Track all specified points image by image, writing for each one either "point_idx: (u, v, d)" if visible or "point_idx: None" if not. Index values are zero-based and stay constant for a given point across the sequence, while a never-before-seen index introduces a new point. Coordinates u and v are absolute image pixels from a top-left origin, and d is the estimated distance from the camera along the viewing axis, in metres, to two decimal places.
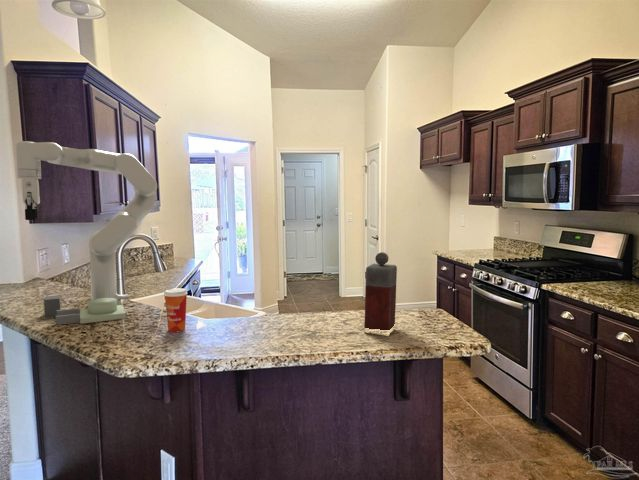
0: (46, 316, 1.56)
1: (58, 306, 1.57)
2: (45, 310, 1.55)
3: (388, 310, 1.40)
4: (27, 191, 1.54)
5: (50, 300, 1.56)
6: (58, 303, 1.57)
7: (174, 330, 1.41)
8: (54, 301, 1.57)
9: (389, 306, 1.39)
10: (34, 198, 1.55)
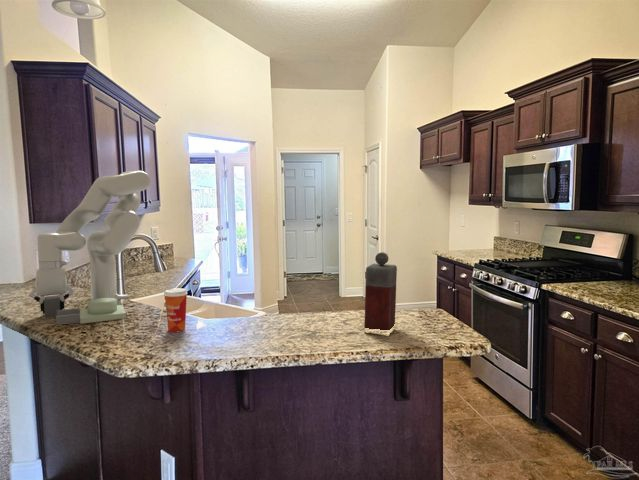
0: (46, 316, 1.56)
1: (58, 306, 1.57)
2: (45, 310, 1.55)
3: (388, 310, 1.40)
4: (66, 282, 1.60)
5: (50, 300, 1.56)
6: (58, 303, 1.57)
7: (174, 330, 1.41)
8: (54, 301, 1.57)
9: (389, 306, 1.39)
10: None
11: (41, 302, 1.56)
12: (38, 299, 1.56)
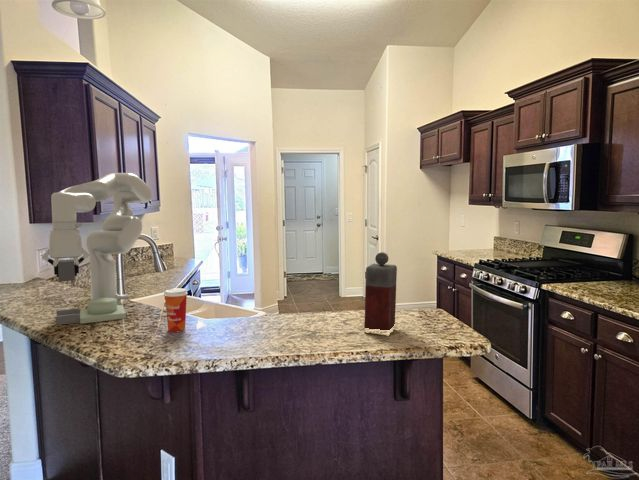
0: (60, 279, 1.48)
1: (72, 269, 1.50)
2: (59, 273, 1.48)
3: (388, 310, 1.40)
4: (81, 245, 1.53)
5: (64, 263, 1.48)
6: (72, 266, 1.50)
7: (174, 330, 1.41)
8: (68, 264, 1.49)
9: (389, 306, 1.39)
10: None
11: (55, 265, 1.49)
12: (52, 262, 1.48)
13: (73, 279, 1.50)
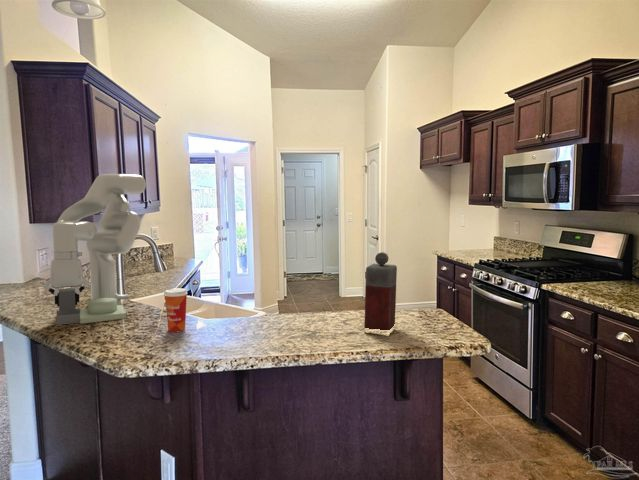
0: (61, 309, 1.49)
1: (73, 299, 1.51)
2: (60, 303, 1.49)
3: (388, 310, 1.40)
4: None
5: (65, 292, 1.49)
6: (73, 295, 1.51)
7: (174, 330, 1.41)
8: (69, 293, 1.50)
9: (389, 306, 1.39)
10: None
11: (56, 294, 1.49)
12: (52, 291, 1.49)
13: (73, 308, 1.51)
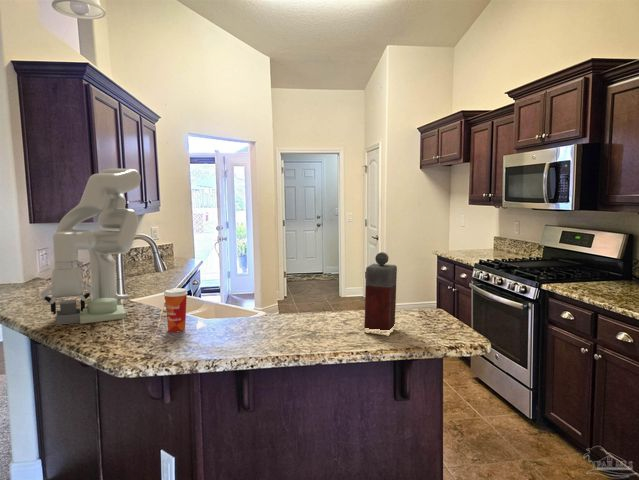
0: None
1: (74, 311, 1.52)
2: None
3: (388, 310, 1.40)
4: (82, 282, 1.54)
5: (66, 304, 1.50)
6: (74, 307, 1.51)
7: (174, 330, 1.41)
8: (70, 305, 1.51)
9: (389, 306, 1.39)
10: None
11: (52, 302, 1.49)
12: (48, 299, 1.49)
13: None
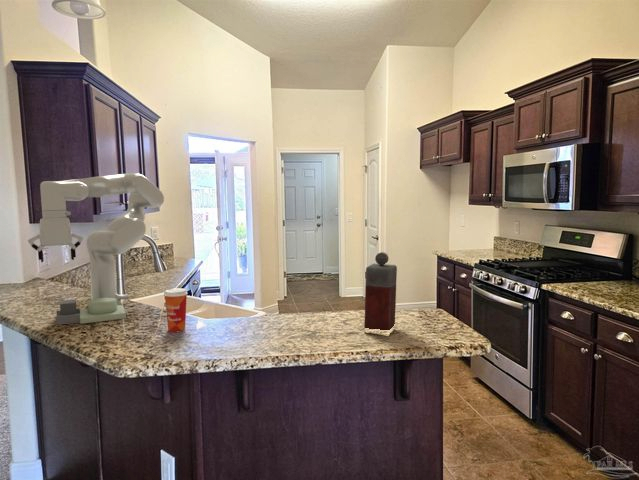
0: None
1: (74, 311, 1.52)
2: None
3: (388, 310, 1.40)
4: None
5: (66, 304, 1.50)
6: (74, 307, 1.51)
7: (174, 330, 1.41)
8: (70, 305, 1.51)
9: (389, 306, 1.39)
10: None
11: (39, 250, 1.50)
12: (36, 247, 1.50)
13: None
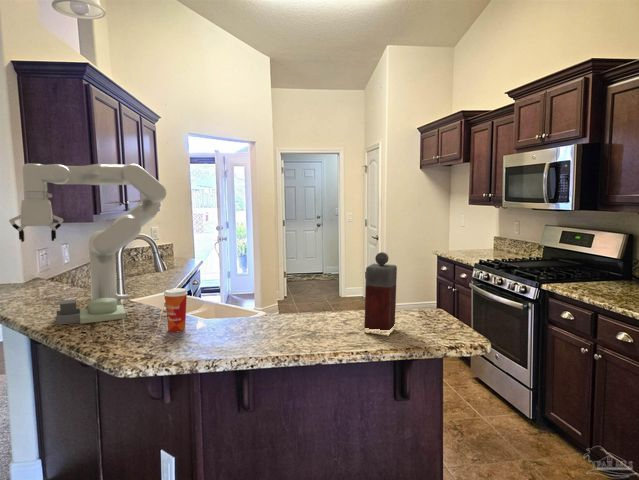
0: None
1: (74, 311, 1.52)
2: None
3: (388, 310, 1.40)
4: (52, 213, 1.61)
5: (66, 304, 1.50)
6: (74, 307, 1.51)
7: (174, 330, 1.41)
8: (70, 305, 1.51)
9: (389, 306, 1.39)
10: None
11: (19, 230, 1.55)
12: (16, 227, 1.55)
13: None
